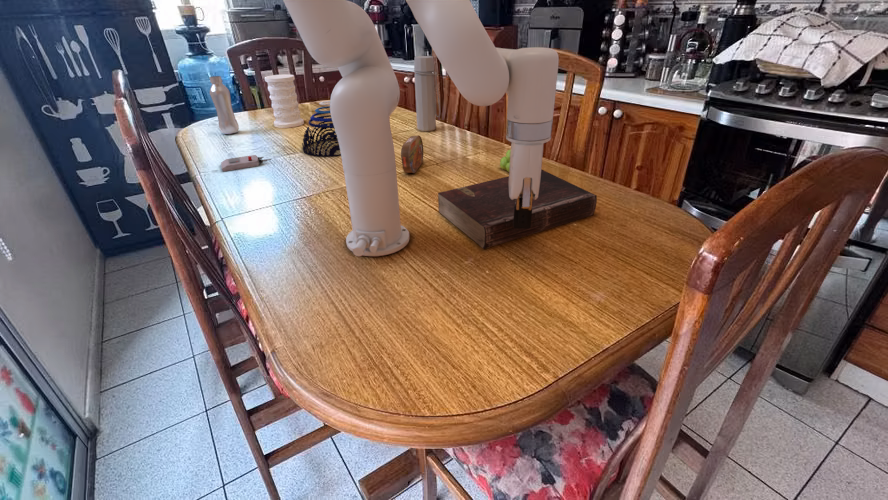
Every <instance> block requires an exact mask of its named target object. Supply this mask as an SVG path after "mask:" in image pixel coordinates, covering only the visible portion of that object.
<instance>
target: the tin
mask: <svg viewBox="0 0 888 500" xmlns="http://www.w3.org/2000/svg"><path fill="white" fill-rule="evenodd" d="M423 142H424V141H423V139H422V137H421V135H411V136H409V138H408V139H407V140H406V141H405V142H404V143H403V144H402V146H401V148H400V149H401V150H400V158H401V165H402V170H403V172H404V173H406V174H415V173H416V172H417V171H418V169H420V167H421V166H422V164H423V162H424V161H423V160H424V143H423Z"/></svg>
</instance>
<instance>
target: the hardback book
mask: <svg viewBox="0 0 888 500" xmlns="http://www.w3.org/2000/svg"><path fill="white" fill-rule="evenodd" d="M597 198H598V197H597V195H596V194H594V193H593V192H590V191H588V190H586V189H584V188H582V187H579V186H578V185H575V184H573V183H572V182H569V181H567V180H565V179H563V178H561V177H559V176H557V175H555V174H552V173H550V172H548V171H546V170H544V169H542V168H541V178H540V187H539V194H538V198H537V199H536V200H534V198H533V199H532V218H531V228H529V229H519V228H514V226H513V219H514V206H516V199H513V200H512V199H510V197H509V175H508V176H504V177H499V178H495V179H491V180H487V181H482V182H479V183H474V184H470V185H466V186H462V187H457V188H453V189H449V190H448V189H447V190H444V191H440V192H438V193H437V201H438V213H439V214H441V216H443V217H444V218H445V219H447V220H448V221H449V222H450V223H452V224H453V225H454V226H455V227H456V228H458V229H459V230H460V231H461V232H463V233H464V234H465V235H466V236H467V237H468V238H470V239H471V240H472V241H474V242H475V243H476V245H478V246H479V247H481V248H482V249H484V250H485V249H488V248H491V247H495V246H497V245H501V244H504V243H507V242H511V241H514V240H517V239H520V238H521V239H522V238H523V237H527V236H530V235H533V234H536V233H540V232H543V231H546V230H549V229H552V228H556V227H559V226H562V225H565V224H568V223H572V222H574V221H578V220H581V219H585V218H588V217H591V216H593V215H594V213H595V212H596V207H597V203H598V202H597V201H598V199H597Z"/></svg>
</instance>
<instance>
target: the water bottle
mask: <svg viewBox="0 0 888 500" xmlns="http://www.w3.org/2000/svg"><path fill="white" fill-rule="evenodd" d="M413 62H414V63H413V65H414V66H413V73H415V74H414V91H415V93H414V94H415V112H416V113H415V114H416V130H418V131H420V132H433V131H434V130H436V128H437V122H436V121H437V119H436V118H440V117H441V102H440V95H439V88H438V87H439V86H438V80H437V77H438V72H437V71H435V60H434V55H433V56H431V55H419V56H414V61H413ZM437 99H438V100H437ZM437 103H438V111H439V113H438V114H437Z"/></svg>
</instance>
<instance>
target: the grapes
mask: <svg viewBox="0 0 888 500" xmlns="http://www.w3.org/2000/svg"><path fill="white" fill-rule="evenodd" d="M510 152H511V148H510V149H508V150H507V151H506V153H505V156H502V157H501V158H500V161H499V166H500V168H501V169H502V170H504V171H507V172H508V173H509V168H510Z"/></svg>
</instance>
